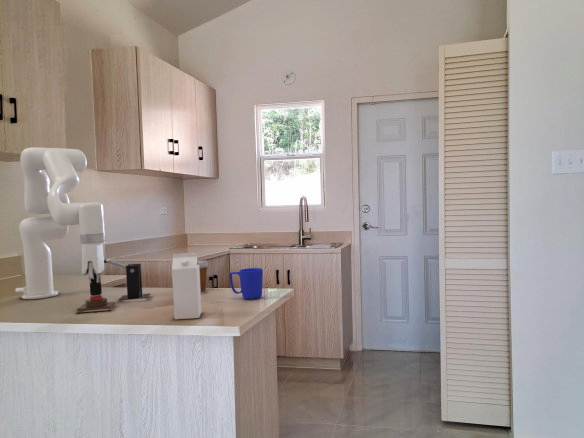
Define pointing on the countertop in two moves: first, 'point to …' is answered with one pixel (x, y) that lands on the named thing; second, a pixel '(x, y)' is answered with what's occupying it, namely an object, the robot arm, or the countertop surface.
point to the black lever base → (134, 283)
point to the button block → (95, 306)
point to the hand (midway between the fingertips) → (96, 294)
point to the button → (95, 297)
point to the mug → (249, 282)
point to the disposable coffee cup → (203, 274)
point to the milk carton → (186, 286)
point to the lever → (114, 263)
